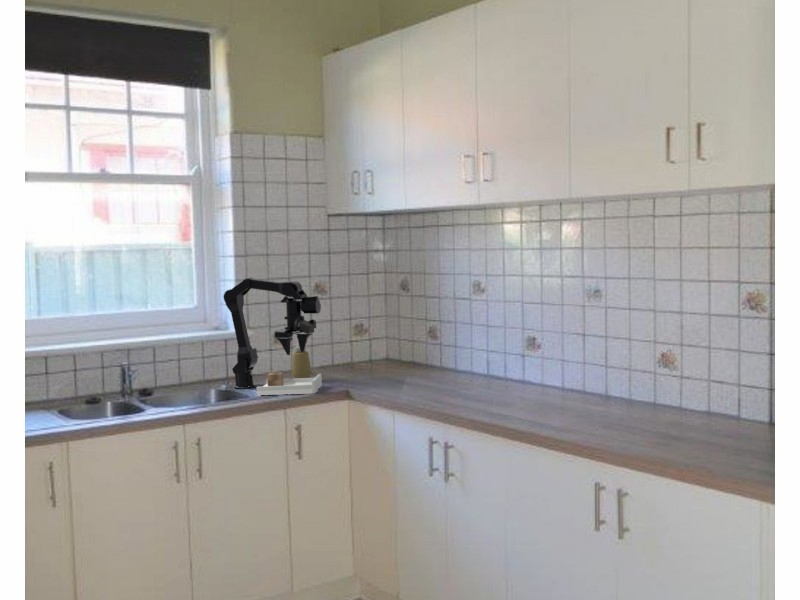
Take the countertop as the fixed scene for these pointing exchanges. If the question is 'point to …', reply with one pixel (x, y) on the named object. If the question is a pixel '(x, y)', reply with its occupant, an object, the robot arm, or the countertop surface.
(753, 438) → the countertop surface
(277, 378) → the block
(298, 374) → the squeeze bottle
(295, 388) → the board
